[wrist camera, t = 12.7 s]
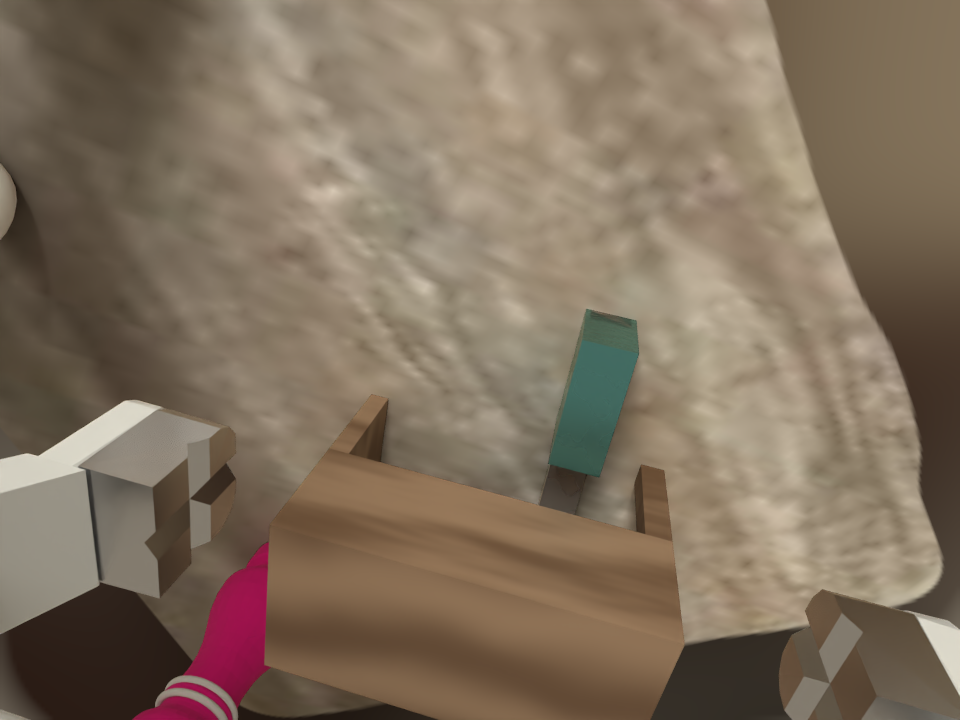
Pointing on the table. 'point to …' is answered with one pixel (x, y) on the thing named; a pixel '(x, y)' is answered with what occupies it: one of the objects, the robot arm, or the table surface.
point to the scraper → (589, 406)
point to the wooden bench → (469, 593)
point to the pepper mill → (223, 652)
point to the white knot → (6, 201)
